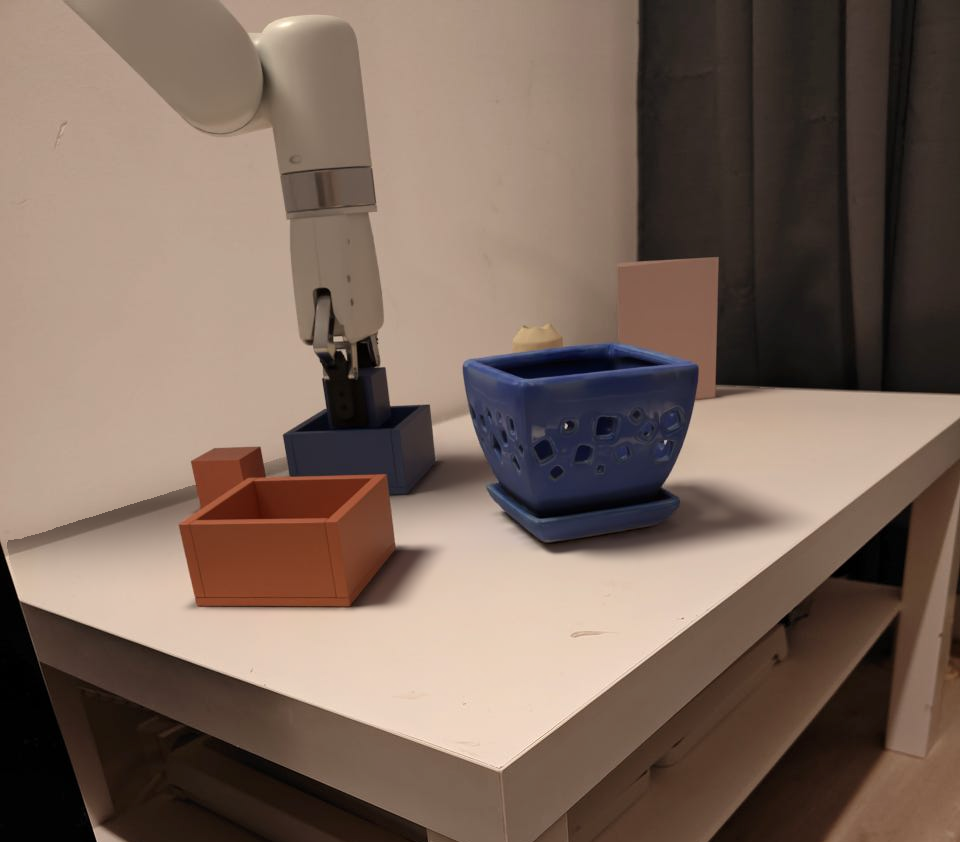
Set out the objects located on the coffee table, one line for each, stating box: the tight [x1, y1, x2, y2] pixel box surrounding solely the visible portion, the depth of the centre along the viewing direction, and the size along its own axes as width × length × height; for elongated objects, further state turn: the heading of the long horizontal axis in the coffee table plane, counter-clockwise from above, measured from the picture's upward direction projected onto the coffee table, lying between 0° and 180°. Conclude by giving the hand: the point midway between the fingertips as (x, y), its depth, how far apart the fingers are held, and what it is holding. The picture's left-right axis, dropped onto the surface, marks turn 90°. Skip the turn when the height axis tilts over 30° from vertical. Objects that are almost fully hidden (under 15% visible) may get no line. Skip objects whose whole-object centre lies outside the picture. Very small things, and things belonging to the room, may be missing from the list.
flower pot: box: [462, 342, 699, 544], centre depth 68 cm, size 13×13×12 cm
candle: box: [511, 323, 564, 353], centre depth 103 cm, size 6×6×10 cm
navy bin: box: [282, 404, 437, 496], centre depth 86 cm, size 11×11×6 cm
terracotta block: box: [190, 446, 267, 510], centre depth 82 cm, size 4×4×4 cm
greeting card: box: [616, 256, 720, 400], centre depth 105 cm, size 11×7×15 cm, turn 65°
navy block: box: [321, 366, 391, 430], centre depth 84 cm, size 4×4×4 cm
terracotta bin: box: [178, 474, 397, 607], centre depth 63 cm, size 11×11×6 cm
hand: (359, 417), depth 84 cm, fingers closed on navy block, 4 cm apart
